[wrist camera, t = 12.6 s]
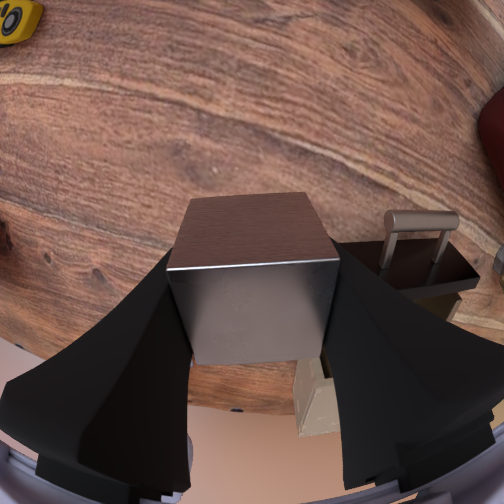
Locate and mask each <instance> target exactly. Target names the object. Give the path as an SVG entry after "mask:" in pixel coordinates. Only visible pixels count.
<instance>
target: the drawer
mask: <svg viewBox="0 0 504 504" xmlns="http://www.w3.org/2000/svg"><path fill="white" fill-rule="evenodd" d="M384 224H385V228H386V230H387V234H386V238H385V241H369V242H350V243H338V244H339V245H341V246H342V247H343V248H344V249H345V250H347V251H348V252H349V253H350V254H351V255H353V256H354V257H355V258H356V259H357V260H359V261H360V262H361V263H362V264H363V265H365V266H366V267H367V268H368V269H369V270H371V271H372V272H373V273H375V274H376V275H377V276H378V277H380V278H381V279H382V280H384V281H385V282H386V283H388V284H389V285H390V286H392V287H393V288H394V289H396V290H397V291H399V292H400V293H401V294H403V295H404V296H406V297H407V298H409V299H411V300H412V301H414V302H415V303H417V304H418V305H420V306H421V307H423V308H425V309H426V310H428V311H430V312H431V313H433V314H435V315H437V316H439V317H440V318H442V319H444V320H446V321H448V322H451V320H452V318H453V317H454V315H455V313H456V311H457V309H458V308H459V306H460V304H461V302H462V298H461V297H460V295H459V294H458V293H457V292H460V291H465V290H469V289H474V288H476V286H477V284H478V282H479V279H480V276H479V274H478V273H477V272H476V271H475V270H474V268H473V267H472V266H471V265H470V264H469V263H468V261H467V260H466V259H465V258H464V257H463V256H462V255H461V254H460V253H459V251H458V250H457V249H456V248H455V247H454V246H453V245H452V244H451V243H450V242H449V241H448V239H449V236H450V233H451V231H450V230H456V229H457V228H458V226H459V216H458V214H457V213H456V212H455V211H434V210H388V211H387V212H386V213H385V217H384ZM415 231H441V233H440V236H439V238H431V239H410V240H397V237H398V232H415ZM320 361H321V365H322V370H323V374H324V378H325V379H328V378H333V376H332V371H331V367H330V363H329V360H328V357H327V354H326V350H325V347H324V344H323V346H322V350H321V354H320Z"/></svg>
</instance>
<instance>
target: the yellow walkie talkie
mask: <svg viewBox="0 0 504 504" xmlns="http://www.w3.org/2000/svg"><path fill="white" fill-rule="evenodd" d="M42 12H43V6H42V5H41V4H39V3H37V2H34V1H33V0H0V48H4V47H9V46H13V45H14V43H18V42H21V41H24V40H26V39H28V38H30V37H31V36H32V34H33V32H34V31H35V29H36V27H37V24H38V22H39V20H40V18H41V15H42Z"/></svg>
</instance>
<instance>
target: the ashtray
mask: <svg viewBox="0 0 504 504" xmlns="http://www.w3.org/2000/svg"><path fill="white" fill-rule="evenodd" d="M479 134H480V138H481V140H482V143H483V145H484V148H485V150H486V152H487V155H488V157H489V159H490V161H491V163H492V165H493V167H494V169H495V171H496V174H497V176H498V179H499V181H500V184H501V186H502V189H503V192H504V87H503V88H502V89H501V90H500V91H498V92H497V93H496V94H495V95H494V96H493V97H492V98H491V99H490V101H489V102H488V103H487V104H486V105H485V106H484V108H483V109H482V111H481V113H480V117H479Z"/></svg>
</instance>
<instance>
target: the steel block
mask: <svg viewBox="0 0 504 504" xmlns="http://www.w3.org/2000/svg"><path fill="white" fill-rule="evenodd" d="M339 264H340V257H339V255H338V253H337V251H336V249H335V247H334V245H333V243H332V241H331V239H330V237H329V235H328V233H327V231H326V229H325V228H324V226H323V224H322V222H321V220H320V218H319V216H318V214H317V213H316V211H315V209H314V207H313V205H312V203H311V202H310V200H309V198H308V196H307V195H306V193H305V192H289V193H266V194H248V195H233V196H219V197H207V198H195V199H191V200H190V203H189V205H188V208H187V210H186V213H185V216H184V218H183V221H182V224H181V227H180V229H179V232H178V235H177V238H176V241H175V243H174V246H173V249H172V252H171V255H170V258H169V261H168V264H167V267H166V273H167V276H168V279H169V283H170V286H171V289H172V293H173V296H174V299H175V302H176V305H177V309H178V312H179V315H180V318H181V321H182V324H183V327H184V330H185V332H186V335H187V338H188V341H189V344H190V347H191V349H192V352H193V355H194V357H195V360H196V363H197V365H233V364H254V363H269V362H281V361H291V360H301V359H310V358H318V357H320V354H321V350H322V346H323V341H324V337H325V333H326V329H327V324H328V320H329V315H330V311H331V306H332V301H333V296H334V291H335V286H336V281H337V275H338V270H339Z"/></svg>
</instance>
